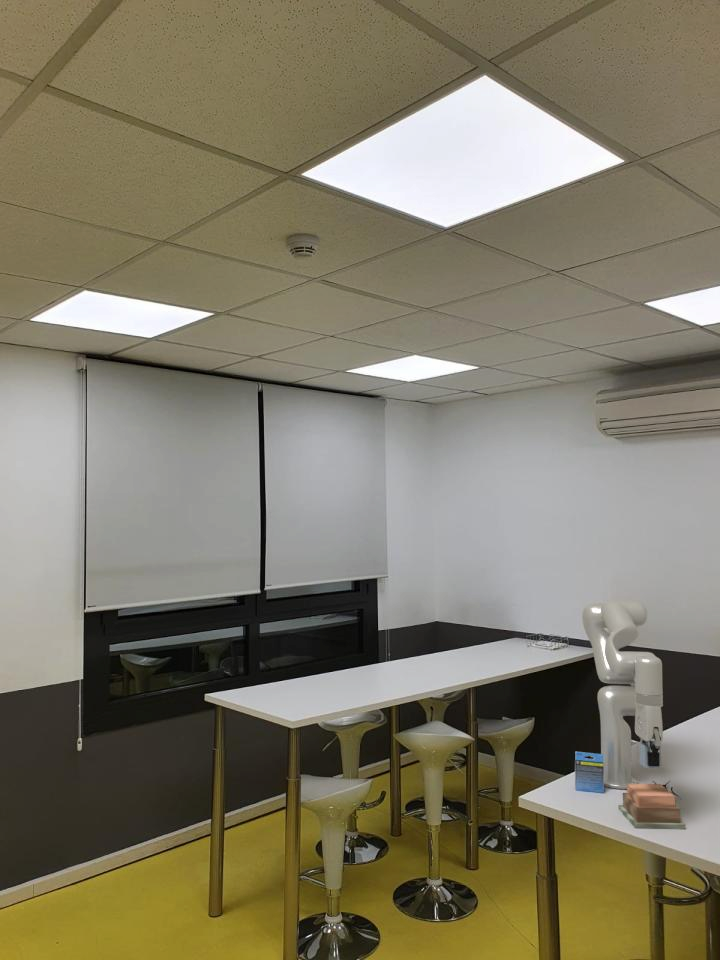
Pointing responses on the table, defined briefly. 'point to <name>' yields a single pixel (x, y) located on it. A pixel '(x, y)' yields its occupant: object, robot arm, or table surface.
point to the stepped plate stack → (651, 807)
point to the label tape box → (589, 772)
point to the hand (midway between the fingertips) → (650, 762)
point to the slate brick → (643, 755)
